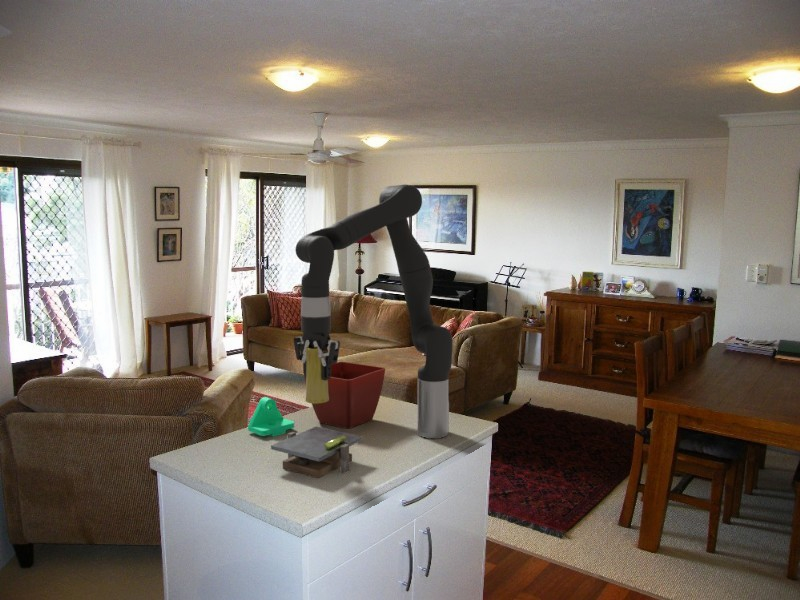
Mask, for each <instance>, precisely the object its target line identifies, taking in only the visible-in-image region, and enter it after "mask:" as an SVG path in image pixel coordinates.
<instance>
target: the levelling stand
mask: <svg viewBox="0 0 800 600" xmlns="http://www.w3.org/2000/svg"><path fill="white" fill-rule="evenodd" d="M295 435H297V432H295V431H291V432H288V433H287V439H288V438H290V437H292V436H295ZM351 462H353V454H352V453H350V447H349V445H348V444H344V445H342V446H341V451H340V452H338V453H336V454H334V455H332V456H330V457H328V458H326V459H324V460H321V461H315V460H311V459H307V458H303V457H299V456H295V455H291V454H288V453H287V459H284V460H282V469H283V470H287V471H290V472H294V473H298V474H301V475H305V476H308V477H313V478H315V479H320V478H321V477H324V476H325V475H328V474H329V473H331V472H333V471H336V470H338V469H340V473H341V474H343V475H344V474H346V473H348V472H350V463H351Z"/></svg>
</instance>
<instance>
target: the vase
mask: <svg viewBox="0 0 800 600" xmlns="http://www.w3.org/2000/svg"><path fill="white" fill-rule="evenodd" d="M322 353H323V354H325V353H326V351H322ZM325 359H326V357H325ZM322 366H323V365H322V362H321V358H319V357H318V349H312V348H307V347H306V382H305V402H306V403H309V404H312V403H315V404H318V403H325V402H327V401H328V400H329V394H328V380H323V379H322Z"/></svg>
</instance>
